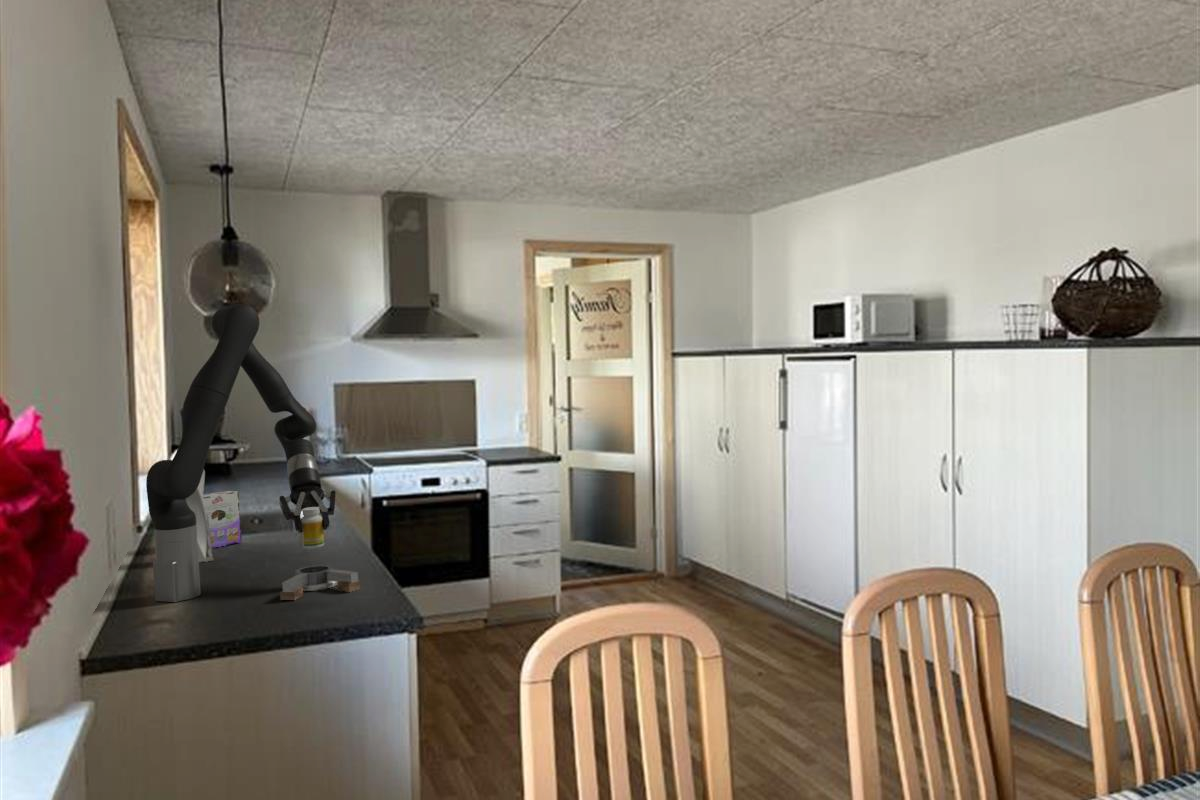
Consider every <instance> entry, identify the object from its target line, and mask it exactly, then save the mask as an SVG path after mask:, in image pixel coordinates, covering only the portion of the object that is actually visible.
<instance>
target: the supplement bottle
mask: <svg viewBox="0 0 1200 800" xmlns="http://www.w3.org/2000/svg"><path fill="white" fill-rule="evenodd" d="M319 512H320V510H319V507H308V508H304V509H302V515H303V516H302V517H300V518H301V524H302V532H301V533H300V541H301V548H303V549H307V550H310V549H312V550H313V549H318V548H322V547H323V546H325V537H324V536H325V535H324V528H323V518H322V516H321V514H320V513H319ZM319 514H320V515H319Z"/></svg>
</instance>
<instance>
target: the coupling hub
mask: <svg viewBox="0 0 1200 800" xmlns="http://www.w3.org/2000/svg"><path fill="white" fill-rule="evenodd" d="M333 569H335V568H334V566H332V565H331V564H330V565H329V564H317V565H309V566H303V567H300V568H297V569H296V570H295V571H294V576H296V575H298V574H308V583H307V584H305V585H303V586H302V587H303V591H304V592H303V593H306V592H305V591H313V592H319V591H318V590H321V591H324V589H326V590H328V589H327V588H330V589H332V588H331V587H333V588H335V587H334V586H336V585H337V582H338V581H330V580H327V571H329V570H333ZM336 587H337V586H336Z"/></svg>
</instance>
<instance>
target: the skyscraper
mask: <svg viewBox="0 0 1200 800" xmlns="http://www.w3.org/2000/svg"><path fill="white" fill-rule="evenodd" d="M205 479H206V471H205V468H204V469H203V473H202V477H201V480H200V483H199V486H198V488H197V489H196V491H195V492H194V493H193V494H192V495H191V496H190V497H188V498H186V503H187V505H188V507H189V508H190V509H191V510H192V511H193V512H194V513H195V515H196V527H197V544H198V559H199V564H202V563H201V562H206V563H209V562H208V561H214V555H213V554H214V553H213V549H212V544H211V529H209V520H208V515H205V509H204V505H203V495H204V491H205ZM206 516H207V521H206Z"/></svg>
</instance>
